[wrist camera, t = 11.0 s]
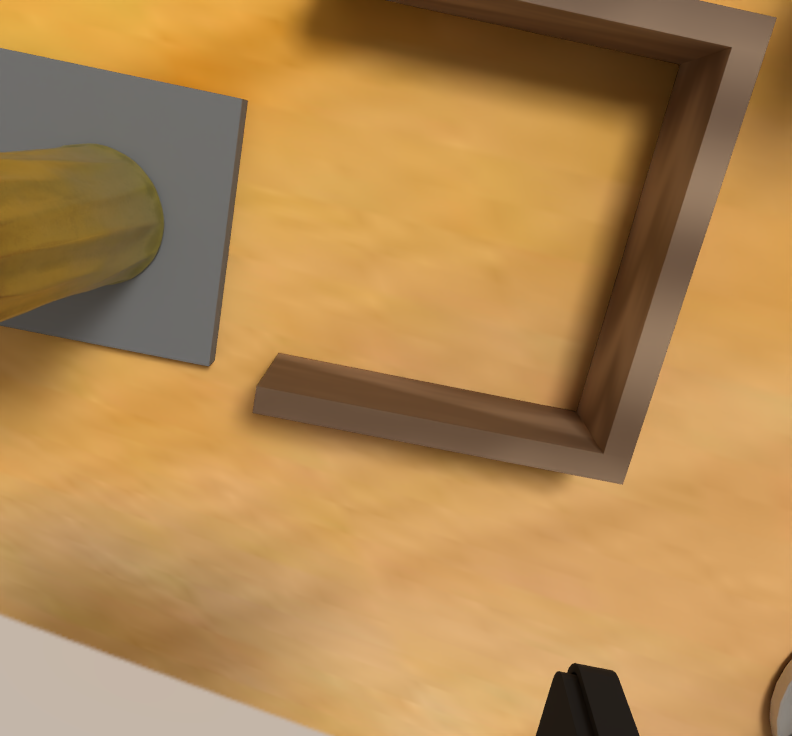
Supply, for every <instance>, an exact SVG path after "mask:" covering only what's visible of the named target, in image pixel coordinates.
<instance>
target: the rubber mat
mask: <svg viewBox="0 0 792 736" xmlns="http://www.w3.org/2000/svg"><path fill="white" fill-rule="evenodd" d="M247 102H248V101H247V100H244V99H240V98H235V97H230V96H226V95H221V94H216V93H211V92H207V91H202V90H197V89H192V88H188V87H183V86H178V85H173V84H169V83H164V82H159V81H154V80H150V79H145V78H140V77H135V76H131V75H126V74H121V73H116V72H112V71H107V70H102V69H97V68H93V67H88V66H83V65H78V64H74V63H69V62H64V61H60V60H55V59H50V58H45V57H41V56H36V55H31V54H26V53H22V52H17V51H12V50H7V49H3V48H0V152H12V151H24V150H34V149H50V148H57V147H61V146H63V145H74V144H88V143H91V144H100V145H104V146H108V147H110V148H112V149H115V150H117V151H119V152H121V153H123V154H125V155H126V156H128V157H129V158H131V159H132V160H133V161H135V162H136V163H137V164H138V165H139V166H140V167H141V168H142V169H143V171H144V172H145V173H146V174H147V175H148V177H149V178H150V180H151V181H152V183H153V184H154V186H155V188H156V190H157V193H158V196H159V199H160V202H161V206H162V210H163V215H164V231H163V237H162V241H161V244H160V247H159V250H158V252H157V254H156V256H155V258H154V259H153V260H152V262H151V263H150V264H149V265H148V266H147V267H146V268H145V269H144V270H143V271H142V272H141V273H139V274H138V275H137V276H135V277H133V278H132V279H130V280H127V281H124V282H121V283H117V284H113V285H105V286H102V287H99V288H96V289H93V290H90V291H87V292H83V293H79V294H75V295H71V296H68V297H65V298H62V299H59V300H56V301H53V302H50V303H47V304H45V305H42V306H40V307H38V308H35V309H33V310H31V311H28V312H26V313H23V314H21V315H18V316H15V317H13V318H10V319H7V320H5V321H2V322H0V326H5V327H10V328H16V329H21V330H26V331H31V332H36V333H41V334H46V335H51V336H56V337H62V338H67V339H72V340H77V341H82V342H87V343H92V344H97V345H102V346H107V347H113V348H118V349H123V350H128V351H133V352H138V353H143V354H148V355H153V356H159V357H164V358H169V359H174V360H179V361H184V362H189V363H194V364H199V365H204V366H210V365H211V364H212V363H213V362H214V360H215V354H216V346H217V338H218V330H219V322H220V315H221V307H222V299H223V291H224V283H225V275H226V267H227V260H228V252H229V244H230V236H231V228H232V220H233V212H234V205H235V197H236V189H237V181H238V173H239V165H240V157H241V150H242V142H243V134H244V126H245V118H246V110H247Z"/></svg>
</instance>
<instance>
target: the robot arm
mask: <svg viewBox="0 0 792 736" xmlns="http://www.w3.org/2000/svg"><path fill="white" fill-rule="evenodd" d="M769 718H770V724H771V731H772V735H773V736H792V660H791V661H790V662H789V663H788V664H787V666H786V667H785V669H784V671H783V673H782V674H781V676H780V678H779V680H778V681H777V683H776V686H775V689H774V692H773V696H772V699H771V706H770V717H769ZM536 736H639V733H638V730H637V727H636V725H635V722H634V719H633V717H632V714H631V711H630V708H629V706H628V703H627V700H626V697H625V695H624V692H623V689H622V686H621V684H620V681H619V678H618V676H617V674H616V673H615V672H614V671H612V670H607V669H602V668H597V667H592V666H587V665H582V664H576V663H574V664H572V665H571V666H570V667H569V669H568V672H567V673H565V672H560V671H558V672H556V674H555V675H554V678H553V681H552V684H551V687H550V691H549V694H548V697H547V700H546V704H545V707H544V710H543V714H542V717H541V720H540V724H539V727H538V730H537V733H536Z"/></svg>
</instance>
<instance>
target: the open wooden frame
mask: <svg viewBox="0 0 792 736" xmlns="http://www.w3.org/2000/svg"><path fill="white" fill-rule="evenodd" d="M387 1H391V2H396V3H400V4H405V5H410V6H414V7H419V8H423V9H428V10H433V11H437V12H442V13H446V14H451V15H455V16H460V17H465V18H469V19H474V20H478V21H483V22H488V23H492V24H497V25H501V26H506V27H511V28H515V29H520V30H524V31H529V32H533V33H538V34H543V35H547V36H552V37H556V38H561V39H566V40H570V41H575V42H579V43H584V44H589V45H593V46H598V47H602V48H607V49H611V50H616V51H621V52H625V53H630V54H634V55H639V56H644V57H648V58H653V59H657V60H662V61H667V62H671V63H676V64H680V66H679V69H678V73H677V76H676V80H675V83H674V86H673V90H672V93H671V96H670V100H669V103H668V106H667V110H666V113H665V117H664V120H663V123H662V127H661V130H660V133H659V137H658V140H657V143H656V147H655V150H654V153H653V157H652V160H651V164H650V167H649V170H648V174H647V177H646V180H645V184H644V187H643V190H642V194H641V197H640V201H639V204H638V207H637V211H636V214H635V217H634V221H633V224H632V227H631V231H630V234H629V238H628V241H627V244H626V248H625V251H624V254H623V258H622V261H621V264H620V268H619V271H618V274H617V278H616V281H615V285H614V288H613V291H612V295H611V298H610V301H609V305H608V308H607V311H606V315H605V318H604V322H603V325H602V328H601V332H600V335H599V338H598V342H597V345H596V348H595V352H594V355H593V359H592V362H591V365H590V369H589V372H588V375H587V379H586V382H585V385H584V389H583V392H582V395H581V399H580V402H579V406H578V409H577V412H575V411H570V410H565V409H560V408H555V407H550V406H545V405H540V404H535V403H530V402H525V401H520V400H515V399H510V398H505V397H499V396H494V395H489V394H484V393H479V392H474V391H469V390H464V389H459V388H454V387H449V386H444V385H439V384H434V383H429V382H423V381H418V380H413V379H408V378H403V377H398V376H393V375H388V374H383V373H378V372H373V371H368V370H363V369H358V368H353V367H347V366H342V365H337V364H332V363H327V362H322V361H317V360H312V359H307V358H302V357H297V356H292V355H287V354H282V353H278V355H277V356H276V358H275V359H274V361H273V362H272V364H271V365H270V367H269V368H268V370H267V371H266V373H265V374H264V376H263V377H262V379H261V380H260V382H259V383H258V385H257V387H256V394H255V400H254V407H253V413H256V414H261V415H267V416H272V417H277V418H282V419H287V420H292V421H298V422H303V423H308V424H313V425H318V426H323V427H329V428H334V429H339V430H344V431H349V432H354V433H359V434H365V435H370V436H375V437H380V438H385V439H390V440H396V441H401V442H406V443H411V444H416V445H421V446H427V447H432V448H437V449H442V450H447V451H452V452H458V453H463V454H468V455H473V456H478V457H483V458H488V459H494V460H499V461H504V462H509V463H514V464H519V465H525V466H530V467H535V468H540V469H545V470H550V471H556V472H561V473H566V474H571V475H576V476H581V477H587V478H592V479H597V480H602V481H607V482H612V483H617V484H623V482H624V479H625V476H626V473H627V470H628V467H629V464H630V461H631V458H632V455H633V452H634V449H635V446H636V443H637V440H638V437H639V434H640V431H641V428H642V425H643V422H644V419H645V416H646V413H647V410H648V407H649V404H650V400H651V397H652V394H653V391H654V388H655V385H656V382H657V379H658V376H659V373H660V370H661V367H662V364H663V361H664V358H665V355H666V352H667V349H668V346H669V343H670V340H671V337H672V334H673V331H674V328H675V325H676V322H677V319H678V316H679V313H680V310H681V307H682V303H683V300H684V297H685V294H686V291H687V288H688V285H689V282H690V279H691V276H692V273H693V270H694V267H695V264H696V261H697V258H698V255H699V252H700V249H701V246H702V243H703V240H704V237H705V234H706V231H707V228H708V225H709V222H710V219H711V216H712V213H713V210H714V206H715V203H716V200H717V197H718V194H719V191H720V188H721V185H722V182H723V179H724V176H725V173H726V170H727V167H728V164H729V161H730V158H731V155H732V152H733V149H734V146H735V143H736V140H737V137H738V134H739V131H740V128H741V125H742V122H743V119H744V116H745V113H746V109H747V106H748V103H749V100H750V97H751V94H752V91H753V88H754V85H755V82H756V79H757V76H758V73H759V70H760V67H761V64H762V61H763V58H764V55H765V52H766V49H767V46H768V43H769V40H770V37H771V34H772V31H773V28H774V25H775V22H776V19H777V18H776V17H771V16H767V15H762V14H758V13H753V12H749V11H744V10H740V9H735V8H731V7H726V6H722V5H717V4H713V3H708V2H704V1H699V0H387Z"/></svg>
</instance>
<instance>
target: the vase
mask: <svg viewBox="0 0 792 736" xmlns="http://www.w3.org/2000/svg"><path fill="white" fill-rule="evenodd" d="M163 231H164V215H163V210H162V206H161V202H160V199H159V196H158V193H157V190H156V188H155V186H154V184H153V183H152V181H151V180H150V178H149V177H148V175H147V174H146V173H145V172H144V171H143V169H142V168H141V167H140V166H139V165H138V164H137V163H136V162H135V161H133V160H132V159H131V158H129V157H128V156H126V155H125V154H123V153H121V152H119V151H117V150H115V149H112V148H110V147H108V146H104V145H100V144H91V143H88V144H74V145H63V146H61V147H57V148H50V149H34V150H24V151H12V152H0V322H2V321H5V320H7V319H10V318H13V317H15V316H18V315H21V314H23V313H26V312H28V311H31V310H33V309H35V308H38V307H40V306H42V305H45V304H47V303H50V302H53V301H56V300H59V299H62V298H65V297H68V296H71V295H75V294H79V293H83V292H87V291H90V290H93V289H96V288H99V287H102V286H105V285H113V284H117V283H121V282H124V281H127V280H130V279H132V278H133V277H135V276H137V275H138V274H139V273H141V272H142V271H143V270H144V269H145V268H146V267H147V266H148V265H149V264H150V263H151V262H152V260H153V259H154V258H155V256H156V254H157V252H158V250H159V247H160V244H161V241H162V237H163Z"/></svg>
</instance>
